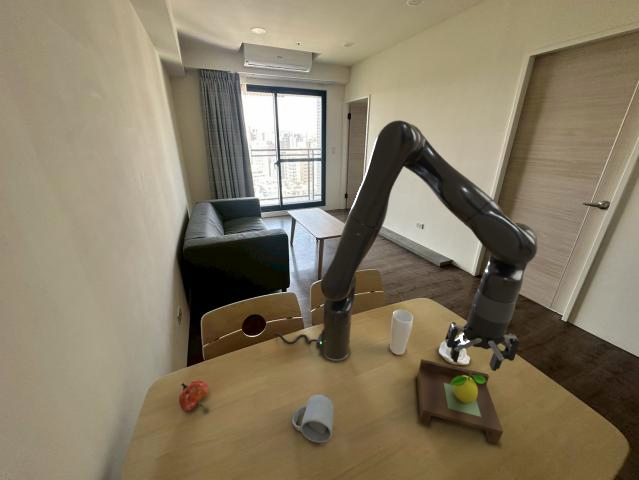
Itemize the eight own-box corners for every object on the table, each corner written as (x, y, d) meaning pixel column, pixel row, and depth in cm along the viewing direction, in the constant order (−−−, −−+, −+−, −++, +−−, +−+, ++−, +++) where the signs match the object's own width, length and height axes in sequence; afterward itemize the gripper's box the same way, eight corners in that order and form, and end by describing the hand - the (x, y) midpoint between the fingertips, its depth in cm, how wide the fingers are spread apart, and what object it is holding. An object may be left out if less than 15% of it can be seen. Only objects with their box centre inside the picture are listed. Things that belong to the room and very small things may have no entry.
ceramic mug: (334, 412, 69) (335, 392, 66) (331, 445, 61) (331, 425, 58) (296, 406, 70) (295, 387, 67) (289, 438, 63) (287, 418, 60)
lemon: (479, 399, 67) (489, 372, 64) (473, 415, 63) (484, 388, 60) (452, 383, 72) (460, 357, 68) (445, 398, 68) (453, 371, 64)
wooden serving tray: (420, 422, 67) (425, 402, 64) (416, 377, 79) (421, 358, 76) (497, 444, 62) (507, 423, 59) (480, 393, 75) (488, 373, 72)
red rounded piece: (215, 401, 73) (195, 373, 75) (219, 398, 68) (198, 369, 70) (191, 424, 68) (170, 394, 70) (193, 423, 63) (171, 390, 65)
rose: (449, 331, 92) (477, 347, 85) (446, 340, 94) (474, 357, 87) (435, 344, 86) (464, 362, 79) (433, 354, 88) (461, 372, 81)
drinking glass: (404, 343, 92) (411, 310, 87) (409, 358, 86) (416, 323, 80) (386, 341, 93) (391, 308, 87) (389, 356, 87) (394, 321, 81)
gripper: (520, 306, 58) (499, 359, 64) (453, 295, 62) (439, 346, 68) (536, 328, 51) (511, 384, 57) (459, 314, 55) (444, 368, 61)
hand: (472, 363), depth 63 cm, fingers open, 8 cm apart
